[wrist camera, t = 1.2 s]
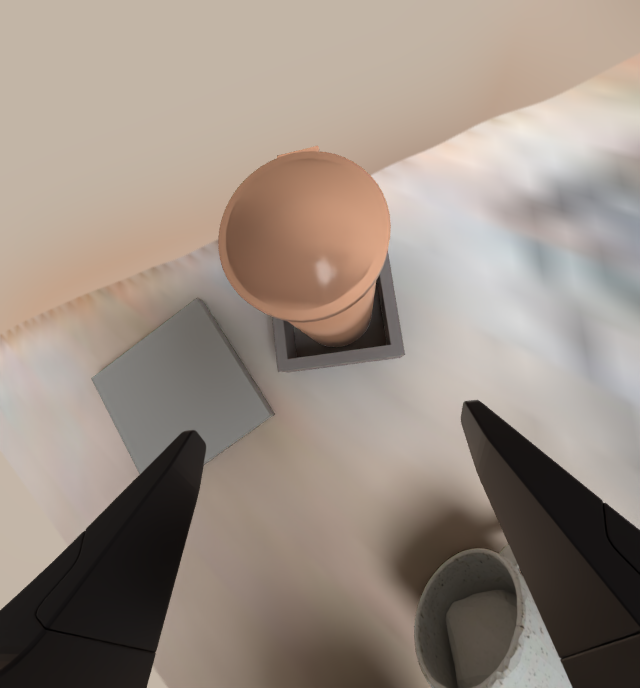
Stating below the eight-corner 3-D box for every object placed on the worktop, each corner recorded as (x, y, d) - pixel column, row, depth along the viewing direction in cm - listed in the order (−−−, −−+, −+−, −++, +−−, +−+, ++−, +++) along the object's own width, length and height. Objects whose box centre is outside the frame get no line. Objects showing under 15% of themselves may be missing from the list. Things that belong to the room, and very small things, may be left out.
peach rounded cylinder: (381, 344, 22) (404, 302, 10) (301, 356, 23) (225, 330, 11) (366, 245, 24) (368, 89, 11) (290, 259, 24) (209, 131, 12)
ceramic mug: (496, 707, 19) (589, 931, 11) (403, 600, 20) (428, 732, 13) (610, 593, 18) (783, 741, 11) (507, 495, 20) (596, 564, 12)
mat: (274, 414, 23) (270, 415, 22) (161, 495, 24) (152, 500, 23) (202, 301, 25) (196, 298, 24) (101, 378, 26) (91, 378, 25)
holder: (399, 357, 22) (404, 354, 19) (288, 372, 23) (277, 371, 20) (382, 250, 23) (384, 231, 20) (277, 269, 25) (265, 254, 22)
